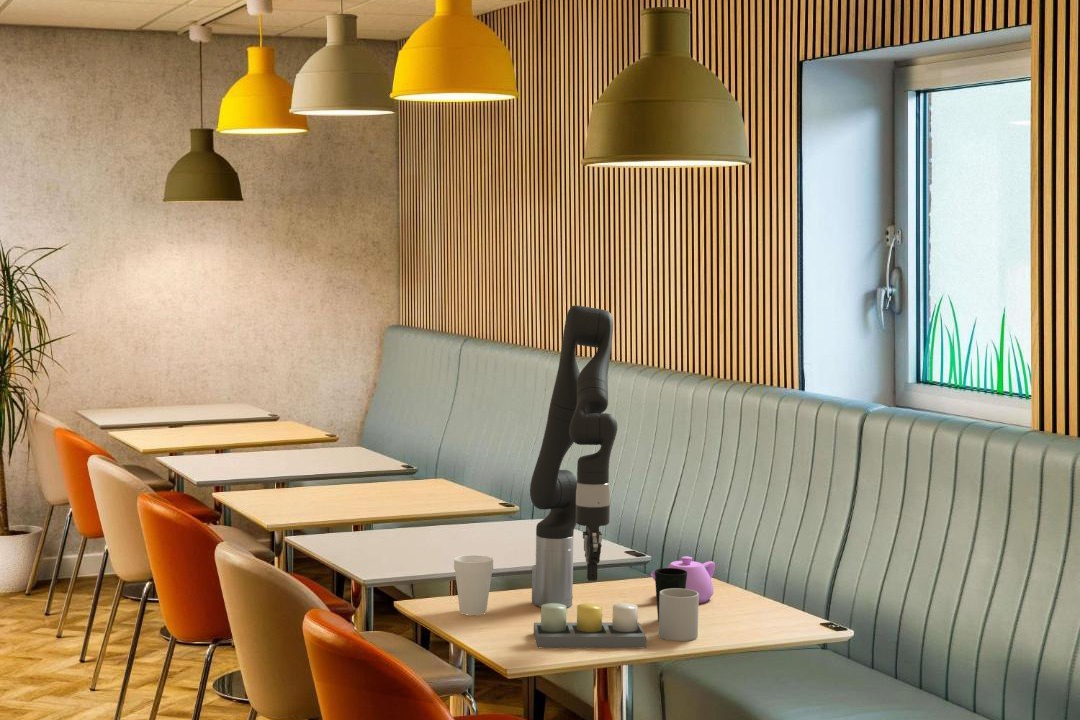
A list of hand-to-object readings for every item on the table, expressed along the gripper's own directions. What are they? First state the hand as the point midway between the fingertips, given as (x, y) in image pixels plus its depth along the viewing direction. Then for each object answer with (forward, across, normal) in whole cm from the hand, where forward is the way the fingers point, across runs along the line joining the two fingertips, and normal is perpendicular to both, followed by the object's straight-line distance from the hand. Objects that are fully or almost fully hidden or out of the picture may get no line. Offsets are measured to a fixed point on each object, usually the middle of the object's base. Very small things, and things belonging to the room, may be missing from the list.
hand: (592, 580), depth 305 cm
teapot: (+14, +39, -28) cm, 50 cm away
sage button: (+11, 0, +8) cm, 14 cm away
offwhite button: (+11, 0, -8) cm, 13 cm away
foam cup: (+13, +26, +26) cm, 39 cm away
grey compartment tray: (+14, 0, 0) cm, 14 cm away
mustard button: (+11, 0, 0) cm, 11 cm away
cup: (+14, +16, -20) cm, 30 cm away
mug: (+14, +4, -21) cm, 26 cm away
